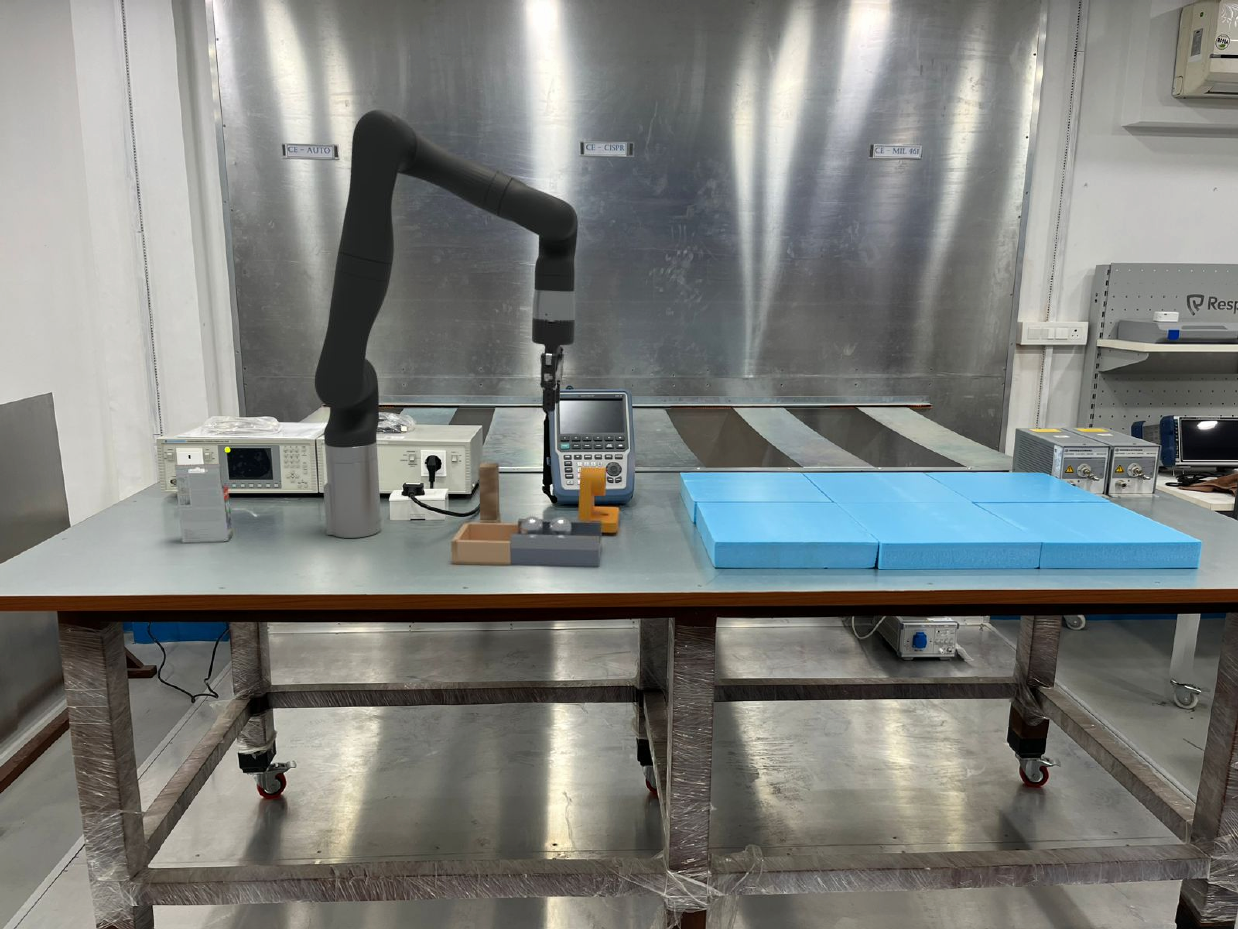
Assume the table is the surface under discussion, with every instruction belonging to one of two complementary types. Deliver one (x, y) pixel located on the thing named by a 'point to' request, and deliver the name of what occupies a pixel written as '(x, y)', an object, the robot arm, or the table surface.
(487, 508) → the tall wooden post
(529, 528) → the ball
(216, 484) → the ink box
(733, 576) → the table surface
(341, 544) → the table surface
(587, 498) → the bracket
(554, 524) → the ball
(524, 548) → the slot rail
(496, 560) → the tray
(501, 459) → the table surface
